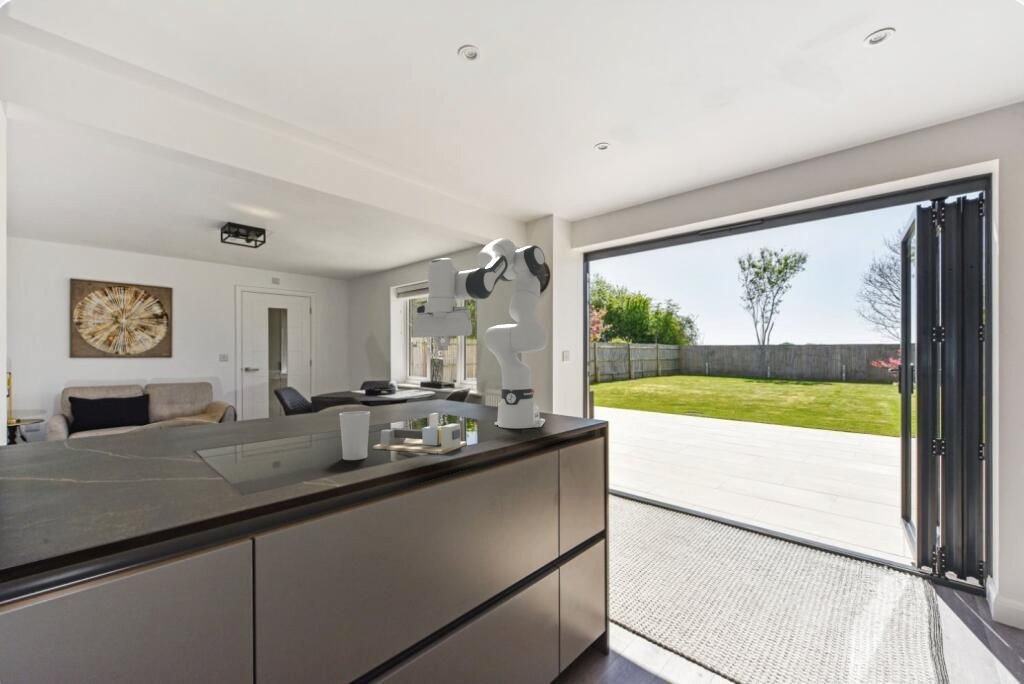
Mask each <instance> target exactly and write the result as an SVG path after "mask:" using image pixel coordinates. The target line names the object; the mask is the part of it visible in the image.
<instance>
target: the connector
mask: <svg viewBox="0 0 1024 684" xmlns="http://www.w3.org/2000/svg"><path fill="white" fill-rule="evenodd" d="M441 426H442V427H441V448H452V447H455V446H457V445H460V444H461V441H462V440H461V437H462V436H461V434H462V433H461V423H448V424H446V425H441Z"/></svg>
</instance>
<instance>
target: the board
mask: <svg viewBox="0 0 1024 684" xmlns="http://www.w3.org/2000/svg"><path fill="white" fill-rule="evenodd" d="M467 444H468V441H462V440H461V444H460V445H457V446H455V447H452V448H441V444H440V445H424V444H422V439H409V438H406V440H403V441H400V442H396V443H393V444H390V445H386V444H381V443H378V444H375V445H373V446H372V449H374V450H385V449H386V451H399V452H413V453H414V452H415V453H423V454H425V453H426V454H428V453H429V454H437V453H438V455H444V454H446V453H449V452H452V451H455V450H457V449H460V448H462V447H464V446H466V445H467Z"/></svg>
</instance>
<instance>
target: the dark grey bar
mask: <svg viewBox="0 0 1024 684" xmlns="http://www.w3.org/2000/svg"><path fill="white" fill-rule="evenodd" d="M389 430H394V438H409V439H422V429H416V428H415V429H413V428H405V429H400V428H394V427H392V428H391V429H389ZM438 440H439V443H441V429H440V430H439V431H438Z"/></svg>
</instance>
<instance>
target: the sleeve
mask: <svg viewBox="0 0 1024 684" xmlns="http://www.w3.org/2000/svg"><path fill="white" fill-rule="evenodd" d="M428 415H429V417H428V418H429V420H428V421H429V426H425V427H422V428H421V430H422V444H424V445H440V444H441V443H439V440H438V431H439V430H440V429H441V427H442V426H443V425H439V412H432V413H430V414H428Z"/></svg>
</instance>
